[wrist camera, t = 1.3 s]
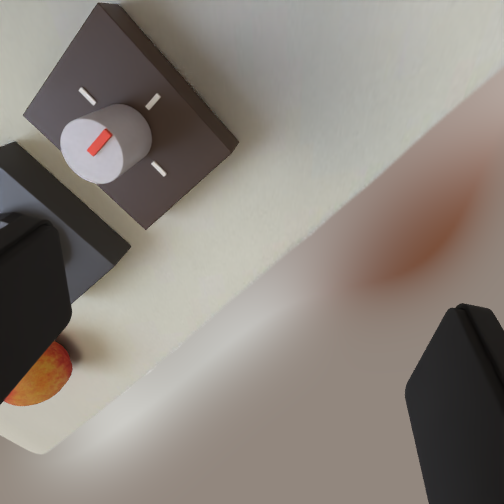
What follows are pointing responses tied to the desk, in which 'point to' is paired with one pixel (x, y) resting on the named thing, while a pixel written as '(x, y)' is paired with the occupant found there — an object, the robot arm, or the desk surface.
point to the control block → (58, 218)
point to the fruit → (43, 378)
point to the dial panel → (141, 99)
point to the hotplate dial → (106, 143)
